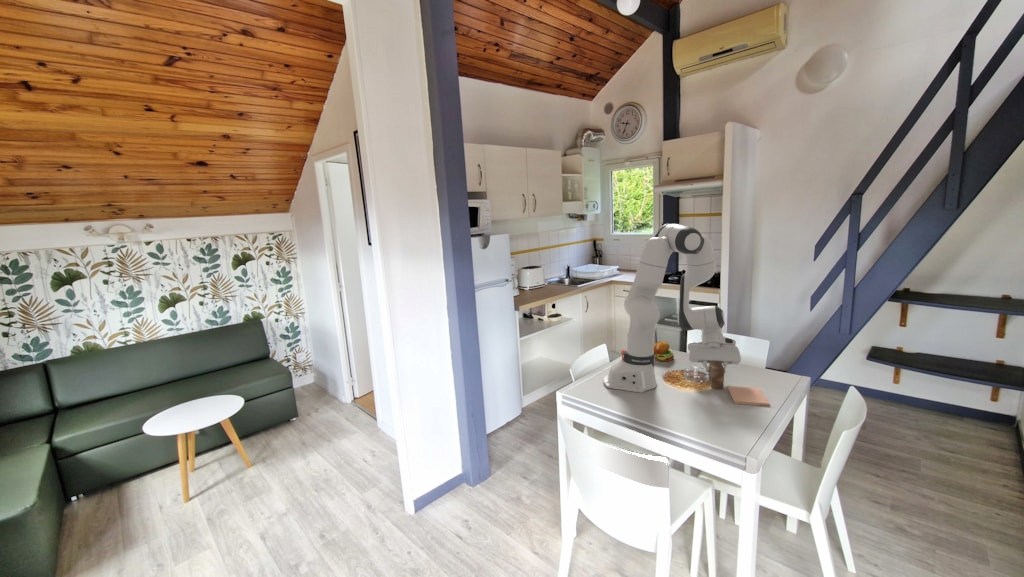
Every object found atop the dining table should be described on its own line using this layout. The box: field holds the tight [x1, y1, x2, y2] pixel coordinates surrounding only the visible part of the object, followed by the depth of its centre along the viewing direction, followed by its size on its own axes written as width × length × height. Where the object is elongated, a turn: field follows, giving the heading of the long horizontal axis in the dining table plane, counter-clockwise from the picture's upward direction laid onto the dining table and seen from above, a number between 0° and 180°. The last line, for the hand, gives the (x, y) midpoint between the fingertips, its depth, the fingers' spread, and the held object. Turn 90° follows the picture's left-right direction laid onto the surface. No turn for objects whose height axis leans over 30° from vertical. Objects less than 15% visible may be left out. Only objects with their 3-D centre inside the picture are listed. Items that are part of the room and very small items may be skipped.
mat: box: [726, 385, 771, 407], centre depth 172 cm, size 12×14×1 cm
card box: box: [708, 362, 725, 390], centre depth 182 cm, size 4×7×9 cm, turn 165°
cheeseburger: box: [654, 340, 675, 363], centre depth 214 cm, size 10×11×10 cm
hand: (715, 372), depth 183 cm, fingers closed on card box, 4 cm apart
